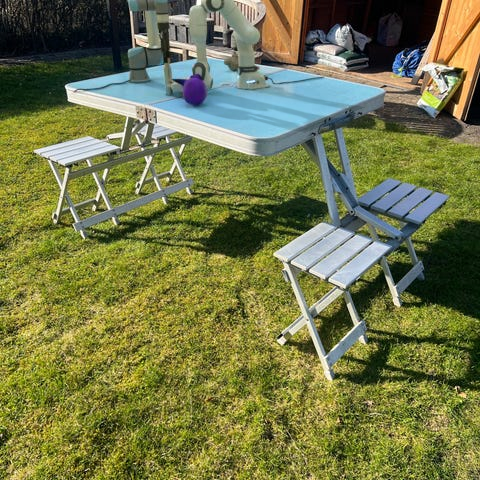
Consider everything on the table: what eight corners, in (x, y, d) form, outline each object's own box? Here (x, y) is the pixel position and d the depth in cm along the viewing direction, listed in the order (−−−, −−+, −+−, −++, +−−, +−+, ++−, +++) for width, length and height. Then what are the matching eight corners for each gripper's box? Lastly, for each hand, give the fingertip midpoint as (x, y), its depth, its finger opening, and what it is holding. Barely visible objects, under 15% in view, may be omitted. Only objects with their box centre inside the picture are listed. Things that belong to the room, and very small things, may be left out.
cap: (167, 62, 286) (167, 59, 285) (162, 62, 288) (161, 58, 287) (171, 61, 289) (171, 58, 288) (166, 61, 291) (166, 57, 290)
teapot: (227, 73, 361) (227, 53, 353) (221, 70, 369) (220, 51, 362) (250, 70, 370) (250, 50, 362) (243, 68, 378) (242, 49, 371)
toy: (196, 96, 291) (207, 111, 270) (169, 91, 283) (179, 106, 263) (201, 71, 283) (213, 84, 262) (173, 66, 275) (184, 79, 255)
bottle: (174, 93, 300) (171, 59, 289) (172, 95, 296) (169, 60, 285) (167, 93, 301) (164, 58, 290) (165, 95, 297) (161, 60, 286)
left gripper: (161, 20, 285) (165, 60, 296) (153, 23, 270) (157, 64, 282) (172, 20, 284) (176, 60, 295) (165, 23, 269) (168, 64, 281)
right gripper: (190, 76, 302) (170, 76, 303) (185, 82, 284) (163, 82, 285) (191, 85, 305) (171, 85, 306) (185, 92, 287) (164, 92, 288)
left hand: (166, 62), depth 289 cm, fingers closed on cap, 4 cm apart
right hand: (167, 84), depth 295 cm, fingers closed on bottle, 5 cm apart
